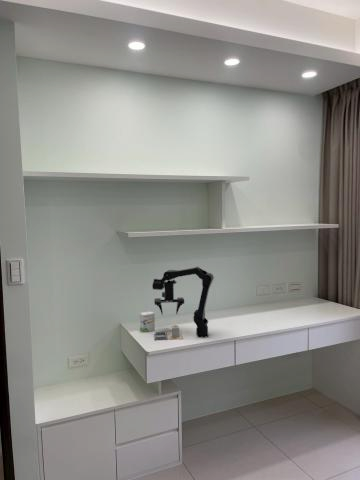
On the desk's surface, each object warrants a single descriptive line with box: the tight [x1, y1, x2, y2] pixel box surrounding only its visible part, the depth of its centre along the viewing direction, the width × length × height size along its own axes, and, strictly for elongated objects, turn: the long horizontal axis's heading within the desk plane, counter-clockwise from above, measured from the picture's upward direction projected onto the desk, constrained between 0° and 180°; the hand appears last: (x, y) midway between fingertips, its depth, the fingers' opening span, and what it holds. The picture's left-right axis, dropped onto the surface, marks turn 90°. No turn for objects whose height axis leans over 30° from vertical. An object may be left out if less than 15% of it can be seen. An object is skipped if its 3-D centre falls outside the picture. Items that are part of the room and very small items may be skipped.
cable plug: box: [171, 324, 180, 338], centre depth 228 cm, size 4×5×7 cm
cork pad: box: [167, 333, 184, 341], centre depth 229 cm, size 9×9×1 cm
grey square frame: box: [153, 331, 169, 341], centre depth 228 cm, size 8×9×2 cm
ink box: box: [139, 311, 156, 333], centre depth 240 cm, size 8×5×12 cm, turn 116°
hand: (169, 314), depth 235 cm, fingers open, 9 cm apart
